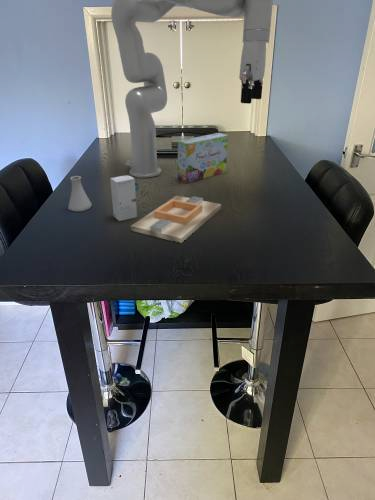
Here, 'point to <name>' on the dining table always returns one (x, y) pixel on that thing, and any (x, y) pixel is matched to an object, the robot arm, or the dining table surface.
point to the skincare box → (123, 197)
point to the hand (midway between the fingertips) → (251, 101)
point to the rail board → (176, 218)
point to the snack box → (202, 157)
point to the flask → (78, 196)
